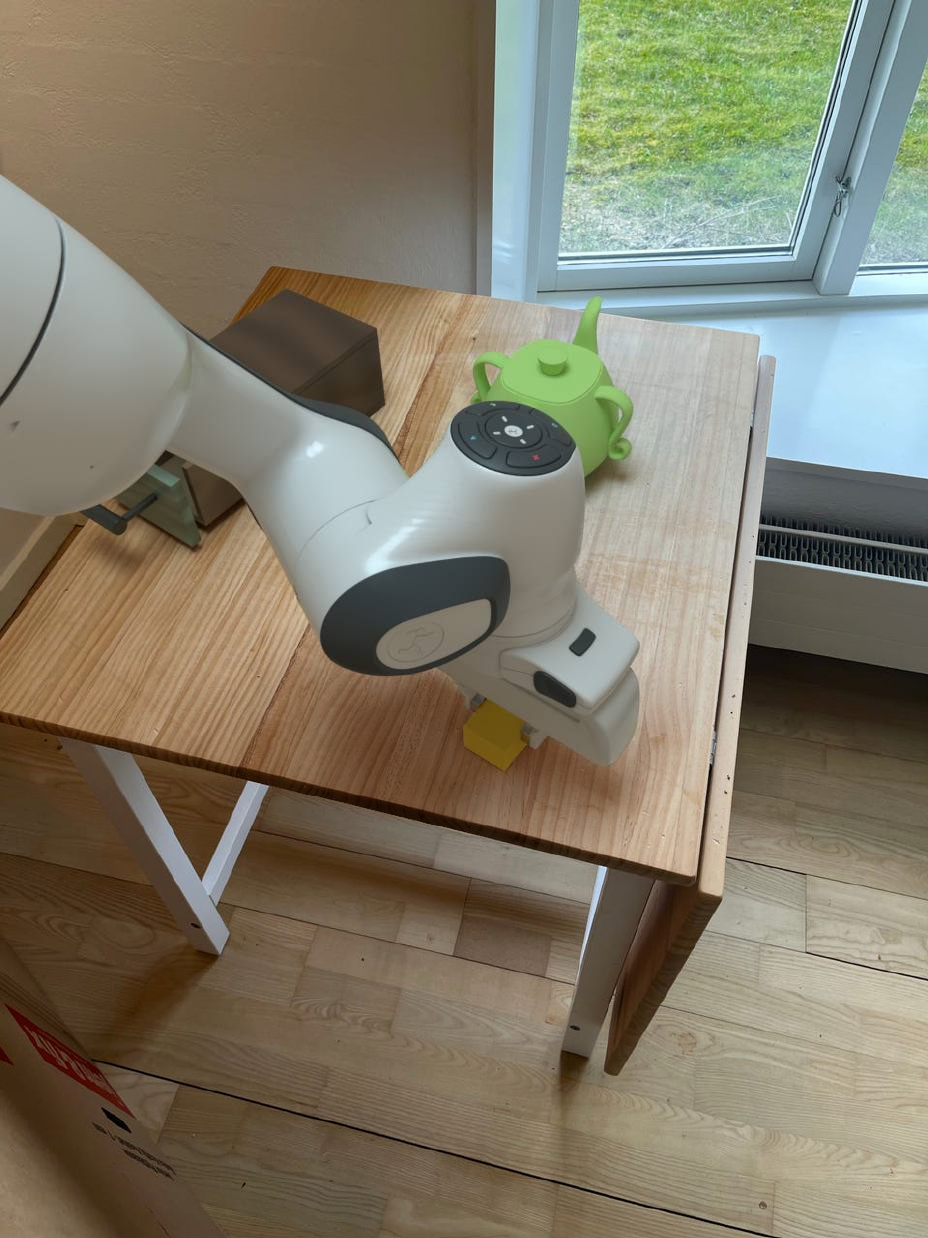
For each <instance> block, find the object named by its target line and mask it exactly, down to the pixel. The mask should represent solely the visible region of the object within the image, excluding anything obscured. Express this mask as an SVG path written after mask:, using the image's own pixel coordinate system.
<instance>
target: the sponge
mask: <svg viewBox="0 0 928 1238" xmlns="http://www.w3.org/2000/svg"><path fill="white" fill-rule="evenodd" d="M525 724H527V722H525V721H523V720H522V719H520V718H518V717H517V716H515V715H513V714H512V713H510V712H508V711H507V710H505V709H503V708H502V707H500V706H498V705H497V704H495V703H493V702H492V701H490V700H488V699H486V700H485V701H484V704H483V705H482V706H481V707H480V708H478V709H477V711H476V712H473V714H472V715H471V716H470V718H468V720H467V721H466V722H465V723H464V724H463V726H462V731H463V733H462V734H463V747H465V748H466V749H468V750H469V751H470V752H473V753H474V754H476V755H477V756H479V757H481V758H482V759H484V760H485V761H486V762H489V763H490V764H491V765H493V766H494V767H496V768H498V769H500V770H501V771H503V772H506V771H507V769H509V767H510V766H511V765H512V763H514V761H515V760H516V759H517V757H518V756H519V755H520V754H521V752H522V751H523V750H524V749H525V747H526V746H528V745H527V744H526V743H524V742H523V741H521V740H520V737H521V733H520V730H521V728H522V727H523V726H524V725H525Z"/></svg>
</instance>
